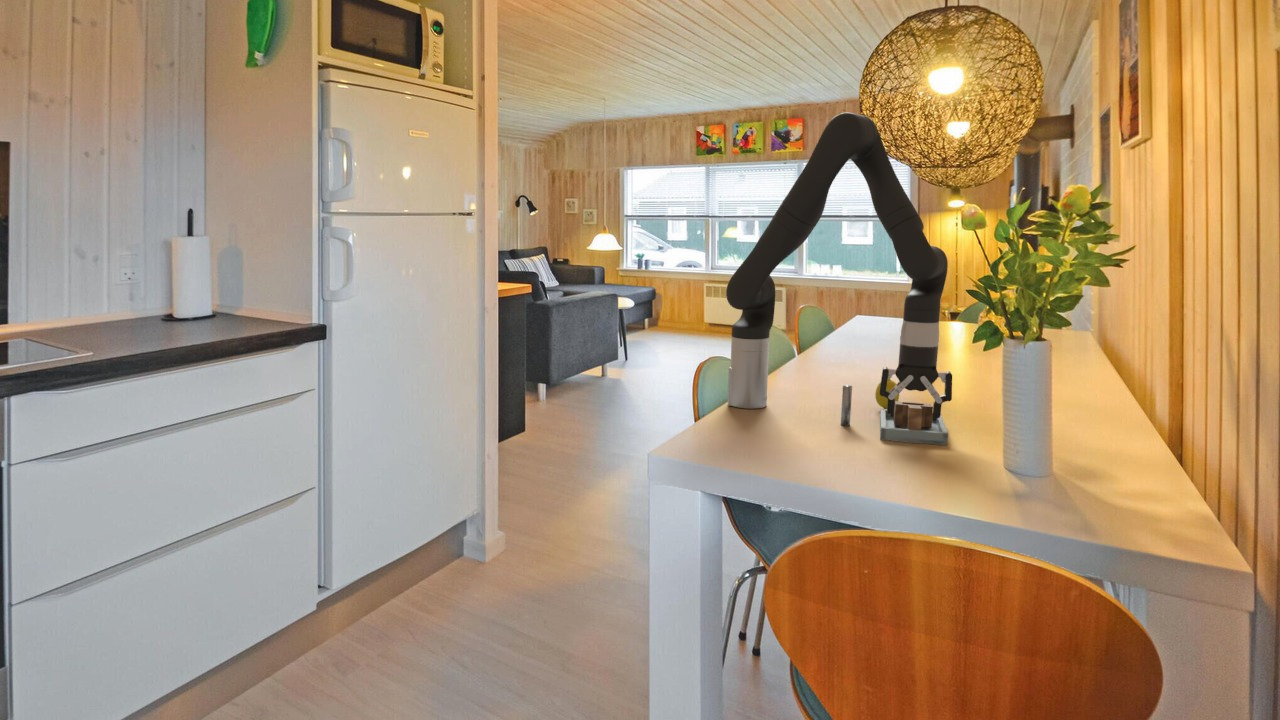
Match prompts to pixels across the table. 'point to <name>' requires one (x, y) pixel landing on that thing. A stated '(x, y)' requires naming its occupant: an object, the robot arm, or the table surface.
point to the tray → (912, 431)
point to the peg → (846, 405)
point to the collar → (913, 415)
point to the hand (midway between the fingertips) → (913, 417)
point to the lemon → (881, 399)
